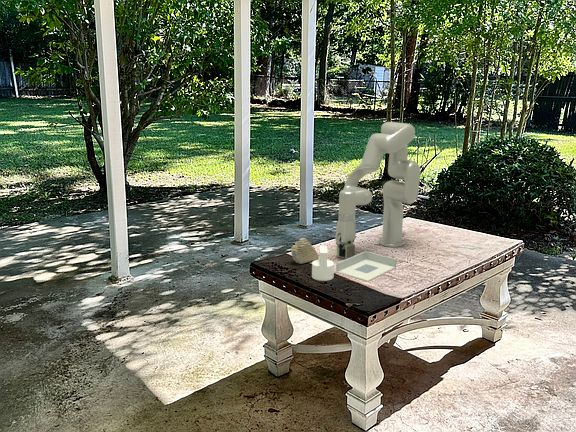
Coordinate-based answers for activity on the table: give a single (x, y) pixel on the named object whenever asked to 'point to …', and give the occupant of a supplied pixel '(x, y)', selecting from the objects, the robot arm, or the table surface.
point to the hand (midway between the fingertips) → (345, 254)
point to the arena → (366, 266)
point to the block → (347, 250)
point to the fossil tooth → (303, 251)
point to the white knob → (322, 266)
